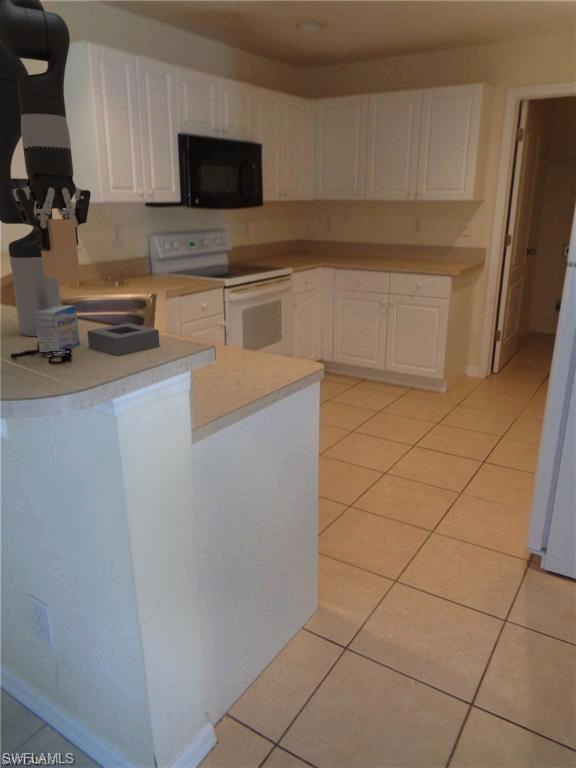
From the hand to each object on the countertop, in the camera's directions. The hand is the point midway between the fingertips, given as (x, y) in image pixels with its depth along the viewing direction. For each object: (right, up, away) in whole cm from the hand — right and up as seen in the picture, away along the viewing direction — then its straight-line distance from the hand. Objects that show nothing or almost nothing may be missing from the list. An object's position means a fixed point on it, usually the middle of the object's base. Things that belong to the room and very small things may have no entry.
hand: (58, 249), depth 100 cm
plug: (0, -5, +1) cm, 5 cm away
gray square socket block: (+7, -17, +15) cm, 24 cm away
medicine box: (-5, -18, +14) cm, 23 cm away
